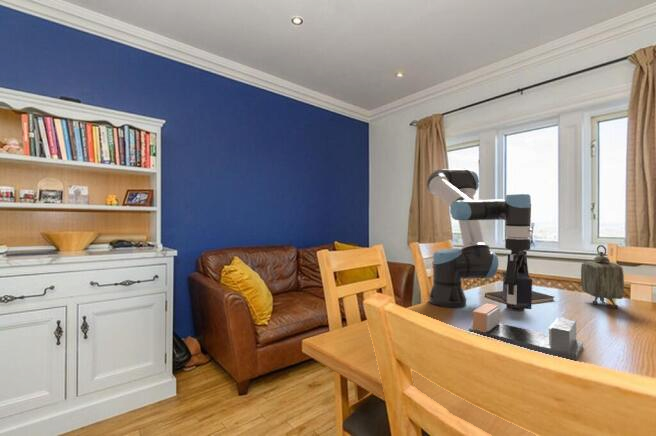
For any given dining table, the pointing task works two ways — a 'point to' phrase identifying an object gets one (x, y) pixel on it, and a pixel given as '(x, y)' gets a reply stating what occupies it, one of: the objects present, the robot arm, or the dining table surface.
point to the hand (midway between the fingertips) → (517, 299)
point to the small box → (520, 291)
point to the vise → (541, 338)
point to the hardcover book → (535, 296)
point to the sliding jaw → (486, 317)
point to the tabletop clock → (602, 278)
